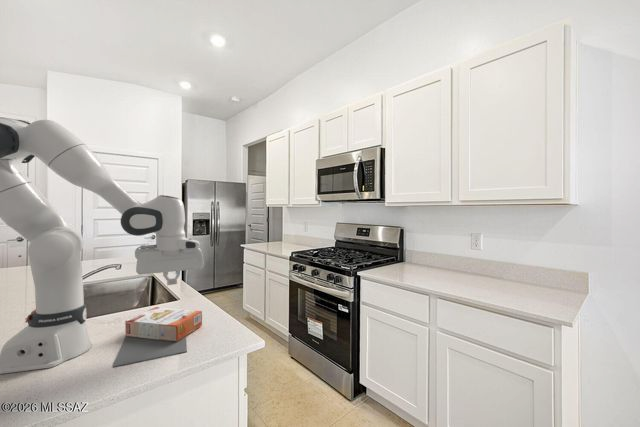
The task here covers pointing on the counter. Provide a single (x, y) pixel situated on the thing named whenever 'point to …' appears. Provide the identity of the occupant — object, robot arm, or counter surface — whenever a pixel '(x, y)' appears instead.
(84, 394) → the counter surface
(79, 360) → the counter surface
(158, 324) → the cracker box
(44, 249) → the robot arm
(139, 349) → the mat
